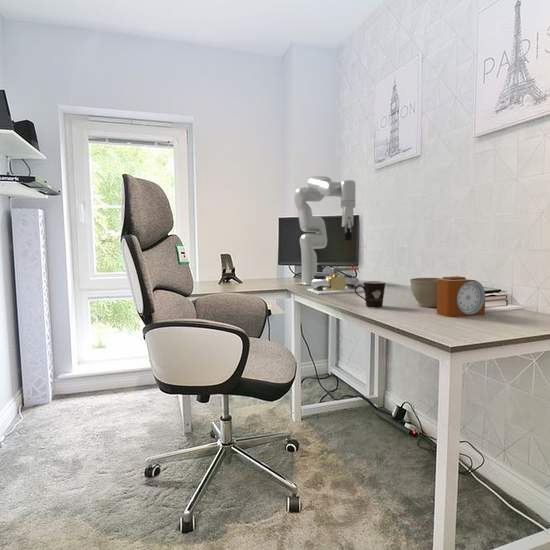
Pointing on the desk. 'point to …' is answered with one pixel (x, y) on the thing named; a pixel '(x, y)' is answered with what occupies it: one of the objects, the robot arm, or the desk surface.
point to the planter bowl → (425, 291)
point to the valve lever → (344, 269)
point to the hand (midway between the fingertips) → (348, 240)
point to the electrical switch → (320, 275)
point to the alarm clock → (460, 297)
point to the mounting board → (336, 291)
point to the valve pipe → (334, 283)
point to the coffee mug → (373, 293)
